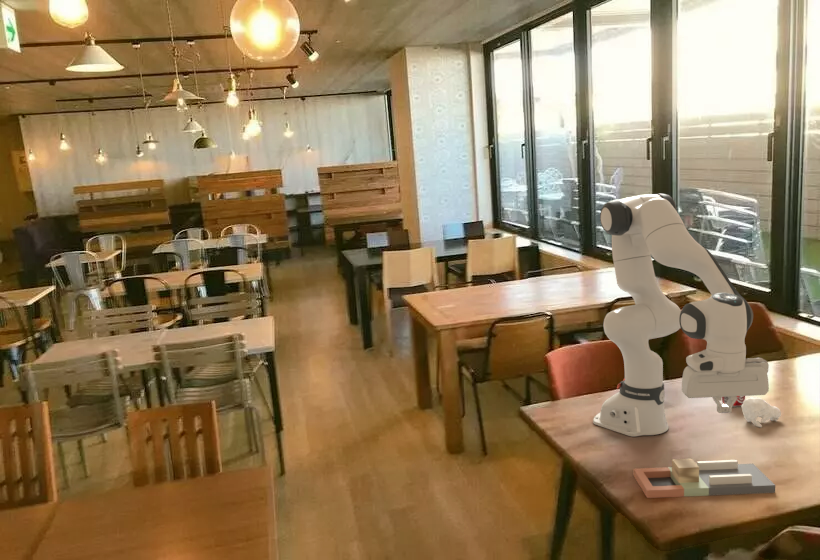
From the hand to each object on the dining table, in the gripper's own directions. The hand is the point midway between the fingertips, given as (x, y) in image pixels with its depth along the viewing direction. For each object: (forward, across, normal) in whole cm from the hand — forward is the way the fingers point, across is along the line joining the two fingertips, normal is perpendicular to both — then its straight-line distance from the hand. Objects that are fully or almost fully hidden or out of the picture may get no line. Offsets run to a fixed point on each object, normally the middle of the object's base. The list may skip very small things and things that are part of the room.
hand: (723, 412), depth 170 cm
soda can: (+20, -25, -52) cm, 61 cm away
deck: (+19, +5, +1) cm, 20 cm away
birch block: (+17, +10, +1) cm, 19 cm away
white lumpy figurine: (+20, -27, -36) cm, 49 cm away
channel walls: (+17, 0, +1) cm, 17 cm away
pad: (+19, +9, +1) cm, 21 cm away
